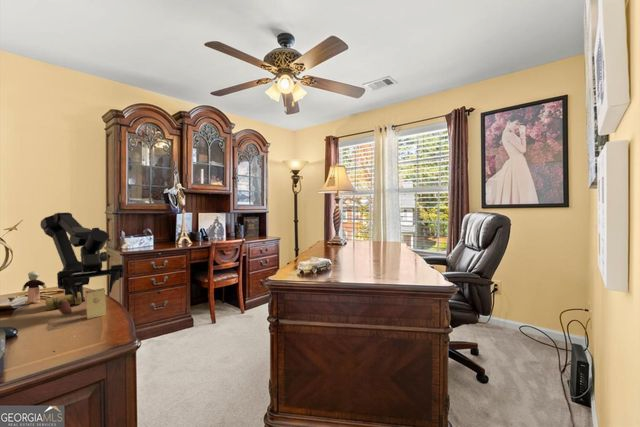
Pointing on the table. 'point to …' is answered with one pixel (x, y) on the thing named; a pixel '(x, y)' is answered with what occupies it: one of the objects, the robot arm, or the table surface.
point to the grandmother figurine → (33, 288)
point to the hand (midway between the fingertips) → (94, 295)
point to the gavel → (63, 303)
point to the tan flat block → (64, 321)
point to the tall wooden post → (95, 303)
